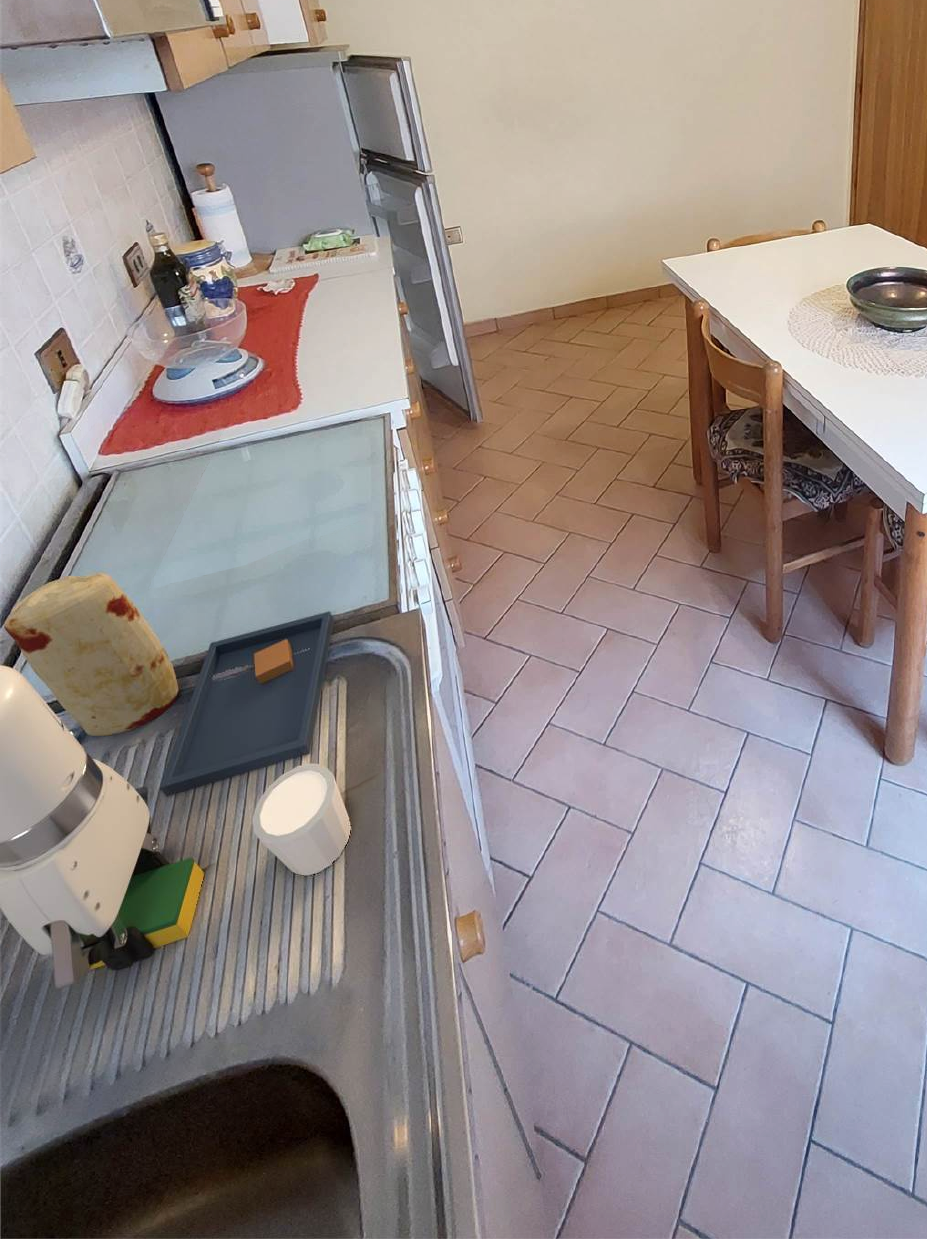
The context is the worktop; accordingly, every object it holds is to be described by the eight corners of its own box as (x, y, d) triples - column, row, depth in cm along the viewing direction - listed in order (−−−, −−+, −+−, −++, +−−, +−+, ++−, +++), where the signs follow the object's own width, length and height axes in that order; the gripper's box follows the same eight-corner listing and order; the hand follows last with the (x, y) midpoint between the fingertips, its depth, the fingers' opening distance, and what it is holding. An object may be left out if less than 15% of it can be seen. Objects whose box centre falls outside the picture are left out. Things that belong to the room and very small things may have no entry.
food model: (88, 762, 77) (-16, 637, 67) (94, 713, 82) (-2, 590, 73) (192, 712, 81) (108, 587, 72) (192, 668, 86) (113, 546, 77)
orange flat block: (260, 684, 83) (255, 676, 82) (258, 661, 86) (253, 653, 85) (294, 668, 84) (289, 660, 84) (291, 646, 87) (286, 638, 86)
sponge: (83, 972, 61) (66, 956, 59) (108, 905, 65) (92, 888, 64) (188, 937, 62) (173, 920, 61) (205, 873, 67) (191, 856, 65)
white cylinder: (283, 821, 70) (256, 780, 67) (358, 791, 72) (336, 750, 68) (276, 898, 64) (245, 858, 61) (357, 864, 66) (332, 822, 63)
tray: (168, 799, 73) (159, 787, 72) (217, 654, 88) (210, 642, 87) (311, 756, 75) (304, 744, 74) (335, 622, 90) (330, 610, 89)
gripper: (38, 717, 61) (135, 832, 70) (-93, 957, 47) (51, 1064, 56) (136, 691, 63) (219, 807, 72) (39, 915, 48) (159, 1026, 57)
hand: (145, 918), depth 63 cm, fingers closed on sponge, 5 cm apart
